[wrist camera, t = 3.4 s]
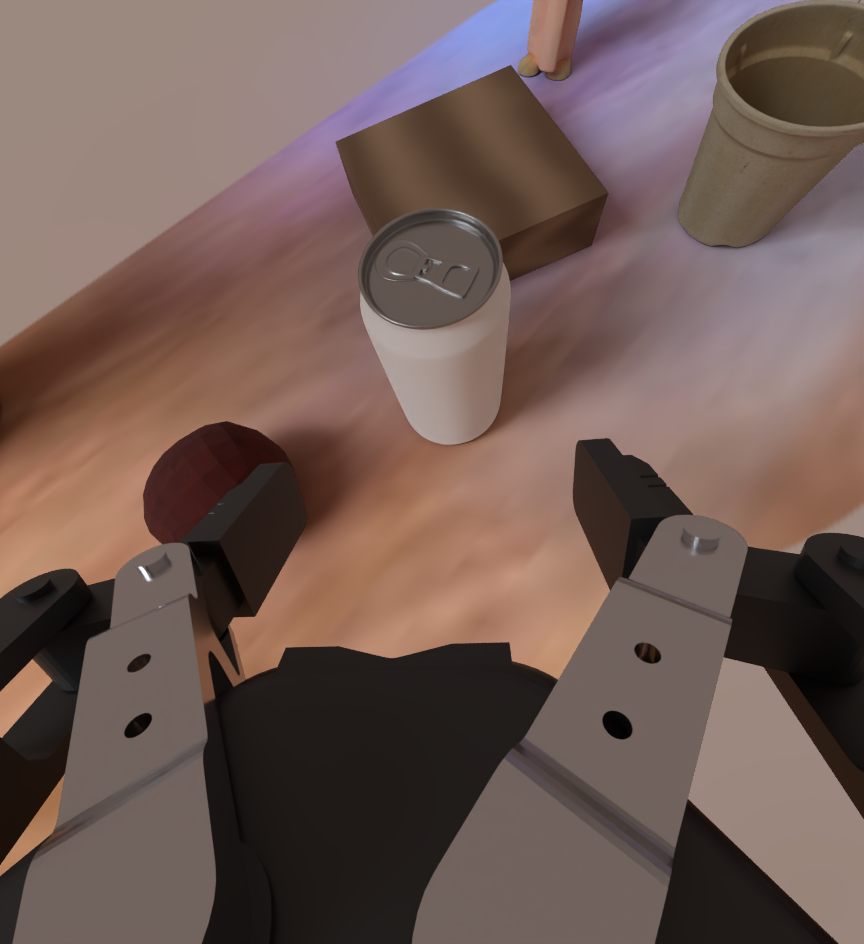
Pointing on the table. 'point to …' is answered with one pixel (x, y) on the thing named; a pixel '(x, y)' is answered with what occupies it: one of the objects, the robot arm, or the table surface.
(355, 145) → the walnut block
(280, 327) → the table surface
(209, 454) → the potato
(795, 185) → the flower pot
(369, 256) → the can
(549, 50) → the grandmother figurine
